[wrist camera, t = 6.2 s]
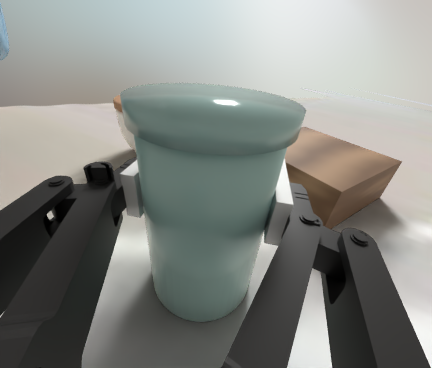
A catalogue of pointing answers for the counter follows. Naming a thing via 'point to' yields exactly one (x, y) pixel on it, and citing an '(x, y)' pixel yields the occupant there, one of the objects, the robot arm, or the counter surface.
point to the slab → (337, 174)
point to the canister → (207, 186)
